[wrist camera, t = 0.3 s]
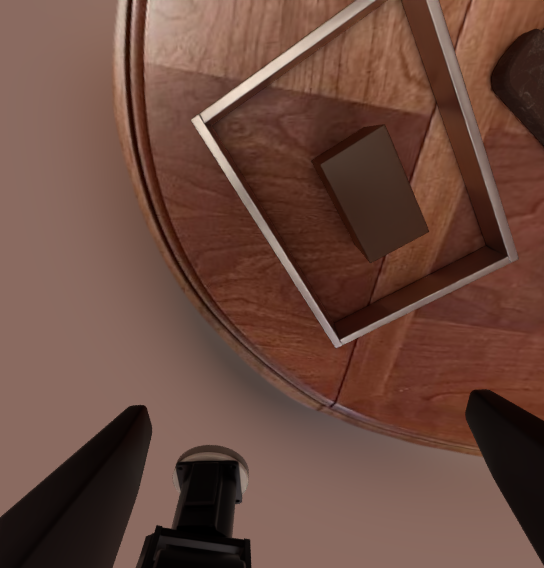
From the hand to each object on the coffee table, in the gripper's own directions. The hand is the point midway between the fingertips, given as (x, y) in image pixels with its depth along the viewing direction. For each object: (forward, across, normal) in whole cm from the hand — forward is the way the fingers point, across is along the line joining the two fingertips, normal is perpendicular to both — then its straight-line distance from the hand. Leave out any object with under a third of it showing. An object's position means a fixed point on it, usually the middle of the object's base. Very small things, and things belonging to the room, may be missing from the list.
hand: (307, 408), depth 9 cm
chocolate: (+17, -6, -3) cm, 18 cm away
